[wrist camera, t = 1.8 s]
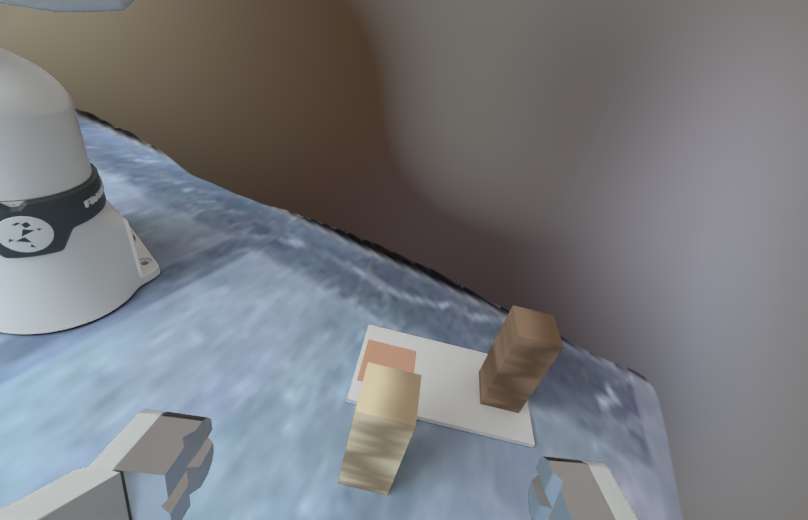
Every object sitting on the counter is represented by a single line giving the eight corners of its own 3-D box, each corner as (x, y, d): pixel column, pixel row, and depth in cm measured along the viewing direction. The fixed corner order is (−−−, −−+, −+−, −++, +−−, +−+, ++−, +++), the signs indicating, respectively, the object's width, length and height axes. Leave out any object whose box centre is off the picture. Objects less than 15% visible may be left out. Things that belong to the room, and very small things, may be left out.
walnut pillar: (480, 403, 41) (518, 335, 35) (478, 371, 45) (512, 305, 39) (518, 413, 41) (563, 347, 35) (514, 380, 45) (553, 315, 39)
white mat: (346, 402, 39) (346, 398, 38) (367, 327, 48) (368, 324, 47) (532, 447, 39) (535, 444, 38) (519, 364, 48) (521, 361, 48)
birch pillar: (338, 483, 32) (355, 410, 26) (350, 435, 36) (367, 361, 30) (387, 495, 32) (416, 425, 26) (394, 446, 36) (421, 375, 30)
